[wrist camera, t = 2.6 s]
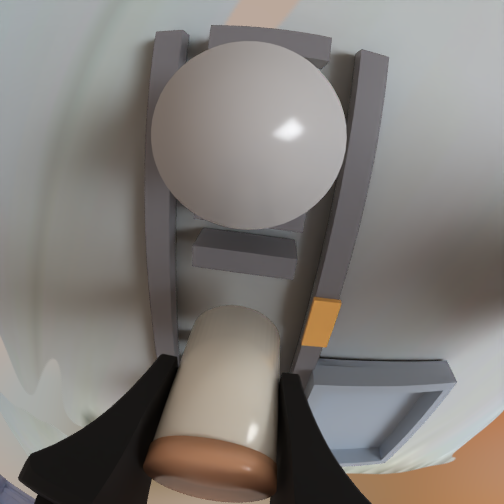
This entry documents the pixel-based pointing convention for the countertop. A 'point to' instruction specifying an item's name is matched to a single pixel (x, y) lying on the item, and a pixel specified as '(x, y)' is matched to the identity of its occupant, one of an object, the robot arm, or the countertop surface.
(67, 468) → the robot arm
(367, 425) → the tray
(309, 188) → the cream capsule cylinder
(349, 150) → the clip rail
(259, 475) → the cylinder
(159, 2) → the countertop surface
